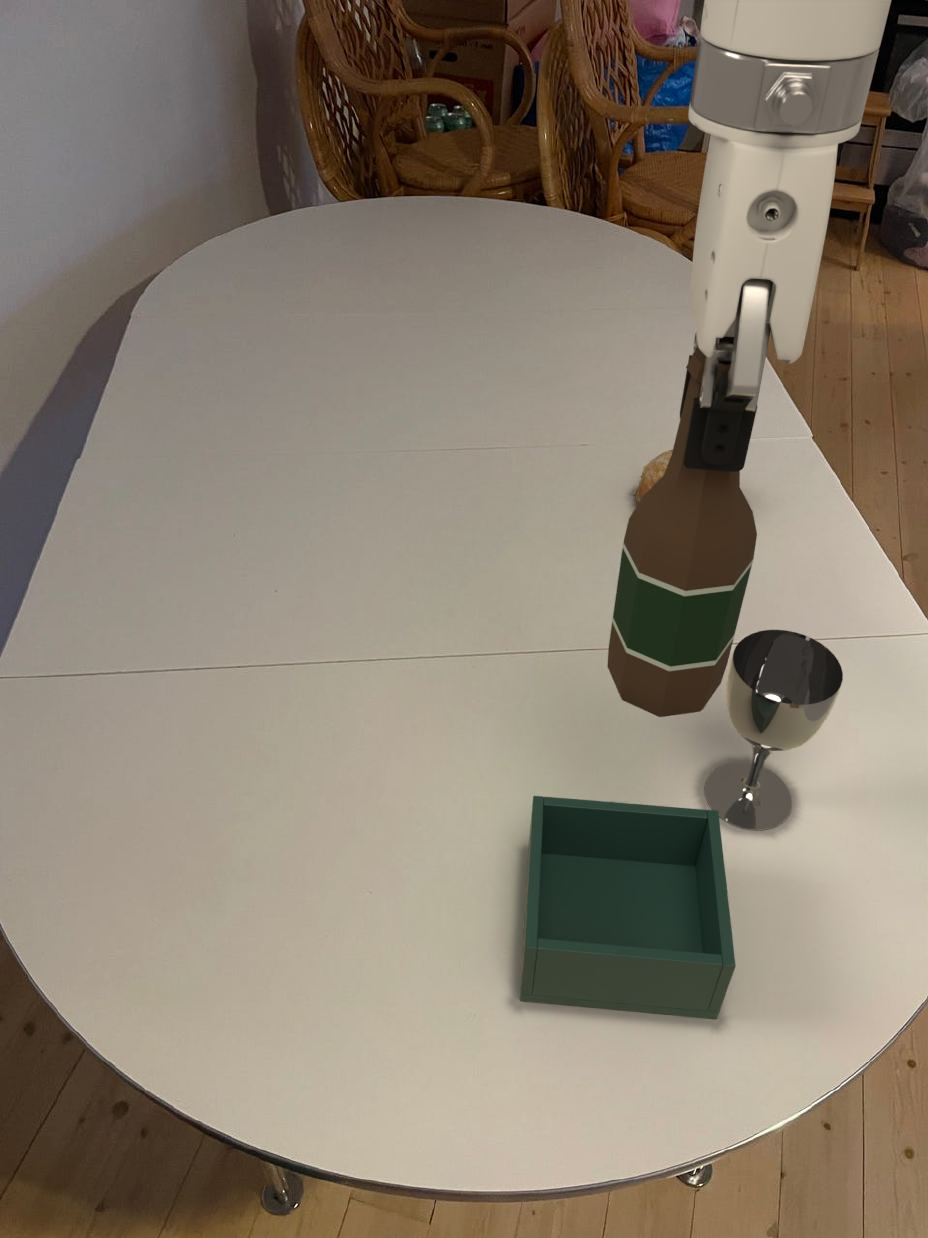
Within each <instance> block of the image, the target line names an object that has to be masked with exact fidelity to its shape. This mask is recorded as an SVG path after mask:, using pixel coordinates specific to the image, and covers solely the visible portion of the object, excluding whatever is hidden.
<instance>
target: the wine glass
mask: <svg viewBox="0 0 928 1238" xmlns="http://www.w3.org/2000/svg"><path fill="white" fill-rule="evenodd" d="M843 681H844V671H843V667H842V665H841V663H840V661H839V660H838V658H837V657H836V655H835V654H834V653H833V652H832V651H831V650H830V649H829V648H828V647H827V646H825V645H824V644H822V642H819V641H818V640H816V639H814V638H812V637H810V636H807V635H805V634H802V633H799V632H796V631H791V630H785V629H765V630H759V631H756V632H753V633H750V634H748V635H746V636H744V637H743V638H742V639H741V640H740V641H739V642H738V643H737V644H736V645H735V648H734V650H733V653H732V656H731V660H730V663H729V668H728V673H727V680H726V692H725V693H726V695H725V696H726V706H727V713H728V717H729V720H730V723H731V724H732V726H733V727H734V729H735V730H736V732H737V733H738V734H739V735H740V737H742V738H743V739H744V740H745V741H746V742H748V743H749V745H750V746H751V749H752V758H751V759H752V760H751V762H745V761H735V762H729V763H725V764H722V765H719V766H718V767H716V768H715V769H713V770H712V771H711V772H710V773H709V775H708V776H707V777H706V780H705V782H704V787H703V788H704V790H703V791H704V796H705V799H706V802H707V804H708V806H709V808H710V809H711V810H717V811H718V813H719V819H722V820H723V821H724V822H726V823H728V824H730V825H732V826H734V827H737V828H739V829H743V830H749V831H766V830H770V829H774V828H776V827H778V826H780V825H781V824H783V823H784V822H785V821H786V820H787V819H788V817H789V816H790V814H791V812H792V808H793V806H792V805H793V800H792V795H791V793H790V790H789V788H788V785H786V783H785V782H784V781H783V780H782V779H781V778H780V777H779V776H778V775H777V774H776V773H774V772H773V771H771V770H769V769H768V768H766V767H764V765H765V763H766V761H767V759H768V758H769V757H770V755H771V754H773V753H774V752H785V751H789V750H790V751H791V750H792V749H796V748H799V747H802V746H803V745H805V744H806V743H807V742H809V741H810V740H811V739H812V738H813V737H814V736H815V735H816V734H817V733H818V732H819V730H820V729H821V728H822V727H823V725H824V723H825V722H826V720H827V719H828V717H829V716H830V714H831V712H832V710H833V708H834V706H835V704H836V702H837V699H838V696H839V693H840V692H841V691H840V690H841V687H842V684H843Z"/></svg>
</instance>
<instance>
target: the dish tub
mask: <svg viewBox="0 0 928 1238" xmlns="http://www.w3.org/2000/svg"><path fill="white" fill-rule="evenodd" d="M530 817H531V818H530V826H529V827H530V829H529V836H528V837H529V838H528V848H527V849H528V850H527V865H526V866H527V867H526V881H525V882H526V883H525V901H524V918H523V920H524V921H523V934H522V935H523V937H522V953H521V954H522V956H521V969H520V970H521V972H520V973H521V974H520V989H519V990H520V992H519V1001H520V1002H530V1003H541V1004H551V1005H561V1006H571V1007H581V1008H582V1007H583V1008H592V1009H601V1010H602V1009H604V1010H615V1011H626V1012H636V1013H645V1014H657V1015H666V1016H667V1015H668V1016H678V1017H689V1018H700V1019H710V1020H717V1019H718V1017H719V1014H720V1011H721V1008H722V1006H723V1003H724V1000H725V997H726V994H727V992H728V989H729V986H730V983H731V980H732V977H733V975H734V971H735V970H736V957H735V950H734V938H733V931H732V930H733V929H732V920H731V912H730V904H729V893H728V887H727V884H728V883H727V876H726V868H725V859H724V850H723V840H722V832H721V824H720V817H719V813H718V811H717V810H712V809H703V808H700V809H699V808H689V807H677V806H665V805H652V804H643V803H642V804H641V803H640V804H638V803H628V802H616V801H603V800H592V799H579V798H568V797H553V796H543V795H533V796H532V806H531V814H530Z"/></svg>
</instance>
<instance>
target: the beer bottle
mask: <svg viewBox="0 0 928 1238" xmlns="http://www.w3.org/2000/svg"><path fill="white" fill-rule="evenodd" d="M719 343H725V344H731V343H728V342H719ZM691 355H692V356H691V358H690V360H689V359H688V360H689V362H688V361H687V365H686V367H685V368H686V371H687V370H688V371H689V373H690V374H691V377H690V381H689V385H688V390H687V394H686V398H685V402H684V406H683V410H682V414H681V418H680V417H679V423H678V428H677V431H676V436H675V438H674V444H673V448H672V450H673V451H672V455H671V458H670V461H669V463H668V466H667V468H666V471H665V473H664V475H663V476H662V477H661V478H660V479H659V480H658V481H657V482H656V483H655V484H654V485H653V486H652V487H651V489H650V490H649V491H648V492H647V493H646V494H645V495H644V496H643V497H642V498H641V500H640V501H639V503H638V505H637V504H636V506H635V508H634V510H633V511H632V513H631V514H630V516H629V518H628V522H627V525H626V530H625V533H624V538H623V542H622V549H621V554H620V555H621V556H620V563H619V571H618V578H617V585H616V592H615V599H614V606H613V613H612V620H611V626H610V627H611V628H610V635H609V640H608V650H607V651H608V652H607V665H606V666H607V669H608V671H609V674H610V676H611V679H612V680H613V683H614V686H615V688H616V690H617V692H618V695H619V697H620V699H621V701H623V702H625V703H628V704H630V705H632V706H634V707H636V708H638V709H640V710H643V711H644V712H647V713H649V714H652V715H654V716H656V717H657V718H664V717H671V716H679V715H687V714H694V713H699V712H702V710H704V708H705V707H706V706H707V704H708V703H709V701H710V700H711V698H712V697H713V696H714V694H715V692H716V691H717V690H718V688H719V686H720V685H721V684H722V681H723V678H724V675H725V673H726V669H727V666H728V662H729V658H730V655H731V650H732V647H733V643H734V639H735V635H736V631H737V626H738V623H739V618H740V614H741V611H742V606H743V603H744V599H745V595H746V590H747V586H748V583H749V579H750V574H751V571H752V567H753V562H754V557H755V551H756V544H757V538H758V532H757V526H756V521H755V516H754V512H753V509H752V507H751V506H750V503H749V502H748V500H747V498H746V497H745V494H744V492H743V491H742V489H741V471H738V472H731V471H717V470H703V469H690V468H687V467H685V466H684V461H683V455H684V450H685V444H686V438H687V433H688V427H689V421H690V416H691V410H692V404H693V399H694V398H700V392H701V386H702V379H703V373H704V366H705V360H706V355H704V354H703V352H702V351H701V350H700V349H699V348H698V349H697V350H696V351H695V352H694V351H693V353H692V354H691ZM730 366H731V362H722V361H719V364H718V370H717V376H716V379H717V378H718V376H719V375H720V373H721V372H722V373H728V371H729V370H730Z"/></svg>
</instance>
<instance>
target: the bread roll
mask: <svg viewBox="0 0 928 1238" xmlns="http://www.w3.org/2000/svg"><path fill="white" fill-rule="evenodd" d="M672 451H673V449H669V450H666V451H663V452H661V453H660V454H658V455H657V456H655V457H654V458H652V459H651V460H649V462H648V463H647V464H646V465H644V466H643V470H642V472H641V475H640V480H639V481H638V485H637V487H636V488H635V490H634V491H633V496H635V500H636V506H637V505H638V503H639V501H640V500H641V498H642V497H643V496H644V495H645V494H646V493H647V492H648V491H649V490H650V489H651V487H652V486H653V485H654V484H655V483H656V482H657V481H658V480H659V479H660V478H661V477H662V476H663V475H664V473H665V471H666V468H667V466H668V463H669V461H670V458H671V455H672Z"/></svg>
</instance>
